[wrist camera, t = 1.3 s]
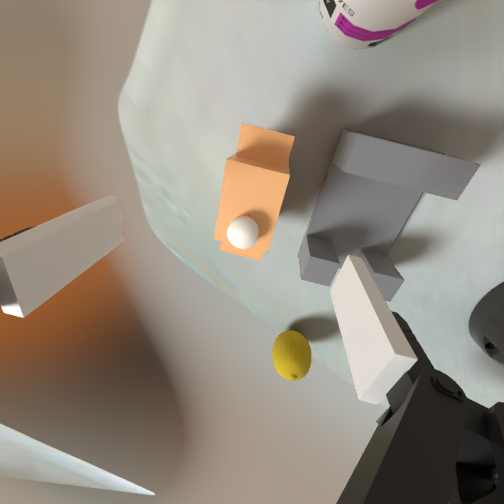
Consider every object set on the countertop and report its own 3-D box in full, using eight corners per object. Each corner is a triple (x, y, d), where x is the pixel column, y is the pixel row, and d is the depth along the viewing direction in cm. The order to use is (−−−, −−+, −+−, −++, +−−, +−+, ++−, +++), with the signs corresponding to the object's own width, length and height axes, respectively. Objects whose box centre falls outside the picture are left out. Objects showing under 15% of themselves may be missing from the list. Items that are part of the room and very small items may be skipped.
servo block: (295, 133, 25) (301, 141, 16) (267, 235, 31) (260, 282, 22) (248, 122, 25) (228, 122, 16) (229, 226, 31) (206, 268, 22)
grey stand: (440, 152, 24) (482, 161, 19) (372, 272, 32) (389, 303, 26) (343, 128, 24) (359, 131, 19) (297, 254, 32) (300, 280, 26)
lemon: (269, 339, 40) (266, 386, 33) (279, 315, 37) (277, 360, 30) (302, 348, 40) (305, 396, 33) (314, 324, 37) (320, 372, 30)
